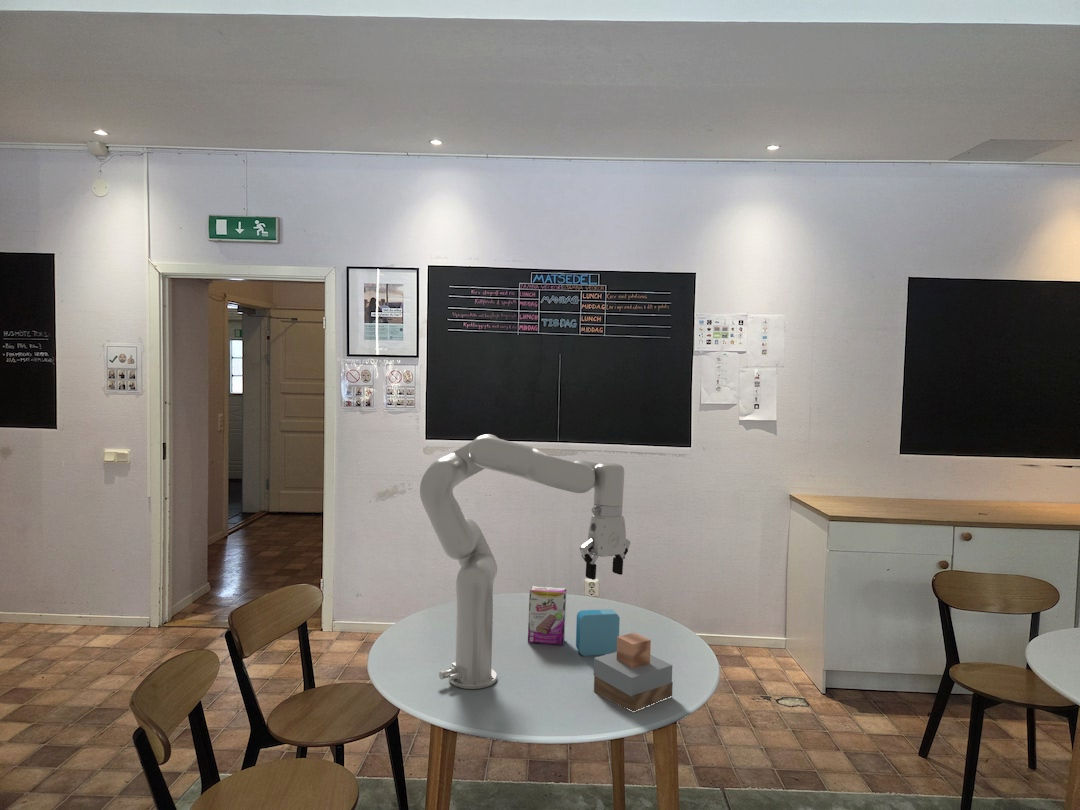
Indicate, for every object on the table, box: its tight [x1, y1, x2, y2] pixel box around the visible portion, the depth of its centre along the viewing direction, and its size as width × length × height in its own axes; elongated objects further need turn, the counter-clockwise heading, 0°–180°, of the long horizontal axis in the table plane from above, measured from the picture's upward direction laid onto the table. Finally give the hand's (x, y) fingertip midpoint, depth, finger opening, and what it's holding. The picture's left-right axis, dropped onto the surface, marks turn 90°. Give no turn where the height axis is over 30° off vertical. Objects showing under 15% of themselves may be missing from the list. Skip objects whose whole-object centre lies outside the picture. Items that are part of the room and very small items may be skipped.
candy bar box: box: [527, 585, 567, 646], centre depth 203 cm, size 11×5×16 cm, turn 84°
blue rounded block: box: [575, 608, 621, 657], centre depth 196 cm, size 12×4×12 cm, turn 102°
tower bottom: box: [593, 675, 674, 711], centre depth 169 cm, size 14×14×4 cm
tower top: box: [593, 652, 673, 696], centre depth 169 cm, size 14×14×4 cm
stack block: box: [617, 632, 652, 668], centre depth 168 cm, size 6×6×6 cm
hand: (604, 575), depth 173 cm, fingers open, 9 cm apart
